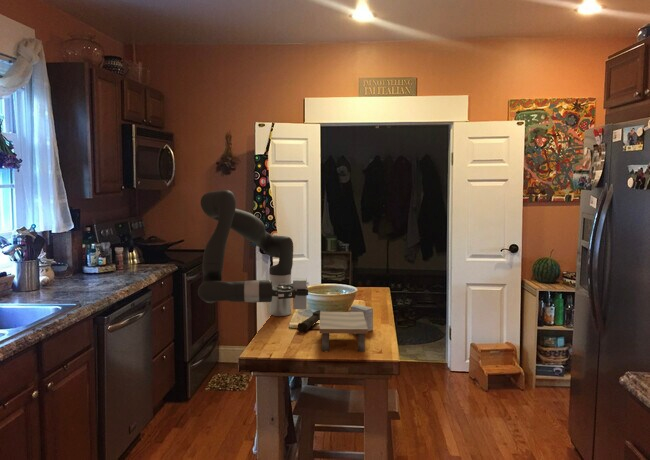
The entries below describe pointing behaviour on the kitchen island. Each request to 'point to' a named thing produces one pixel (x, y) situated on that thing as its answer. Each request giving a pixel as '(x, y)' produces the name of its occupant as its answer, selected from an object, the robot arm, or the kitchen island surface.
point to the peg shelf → (343, 326)
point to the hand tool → (309, 322)
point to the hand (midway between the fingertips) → (307, 290)
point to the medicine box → (365, 314)
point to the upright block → (300, 301)
